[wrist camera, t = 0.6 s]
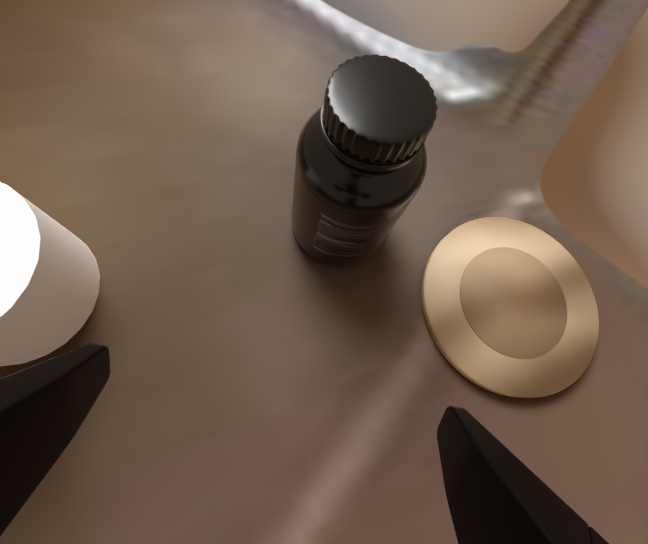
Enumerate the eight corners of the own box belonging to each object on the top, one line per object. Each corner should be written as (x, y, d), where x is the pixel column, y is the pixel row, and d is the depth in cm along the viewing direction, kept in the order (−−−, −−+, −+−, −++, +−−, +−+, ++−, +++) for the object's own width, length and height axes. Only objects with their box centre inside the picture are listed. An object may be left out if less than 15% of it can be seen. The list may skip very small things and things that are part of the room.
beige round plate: (623, 337, 26) (635, 335, 25) (494, 437, 22) (503, 438, 22) (516, 197, 28) (523, 191, 28) (386, 266, 25) (390, 262, 24)
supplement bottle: (400, 226, 26) (494, 106, 15) (340, 288, 24) (396, 203, 13) (334, 167, 27) (374, 12, 16) (270, 222, 25) (265, 89, 14)
